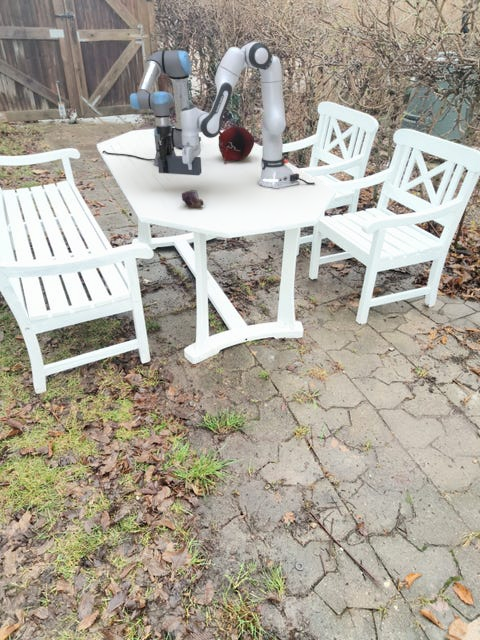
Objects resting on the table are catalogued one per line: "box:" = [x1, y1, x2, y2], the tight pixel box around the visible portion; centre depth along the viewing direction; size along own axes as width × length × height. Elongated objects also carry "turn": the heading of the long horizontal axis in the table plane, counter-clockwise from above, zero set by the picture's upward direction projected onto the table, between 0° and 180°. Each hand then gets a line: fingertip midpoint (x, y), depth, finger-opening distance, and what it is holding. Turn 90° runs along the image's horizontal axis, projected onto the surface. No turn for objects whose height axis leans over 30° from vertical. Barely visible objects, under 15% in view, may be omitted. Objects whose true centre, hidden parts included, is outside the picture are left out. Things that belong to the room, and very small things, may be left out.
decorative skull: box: [218, 125, 255, 165], centre depth 297 cm, size 21×24×25 cm
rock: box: [181, 189, 205, 208], centre depth 227 cm, size 12×9×10 cm
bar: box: [157, 155, 203, 176], centre depth 241 cm, size 23×5×8 cm, turn 77°
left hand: (167, 170), depth 245 cm, fingers closed on bar, 5 cm apart
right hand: (192, 167), depth 241 cm, fingers closed on bar, 5 cm apart
